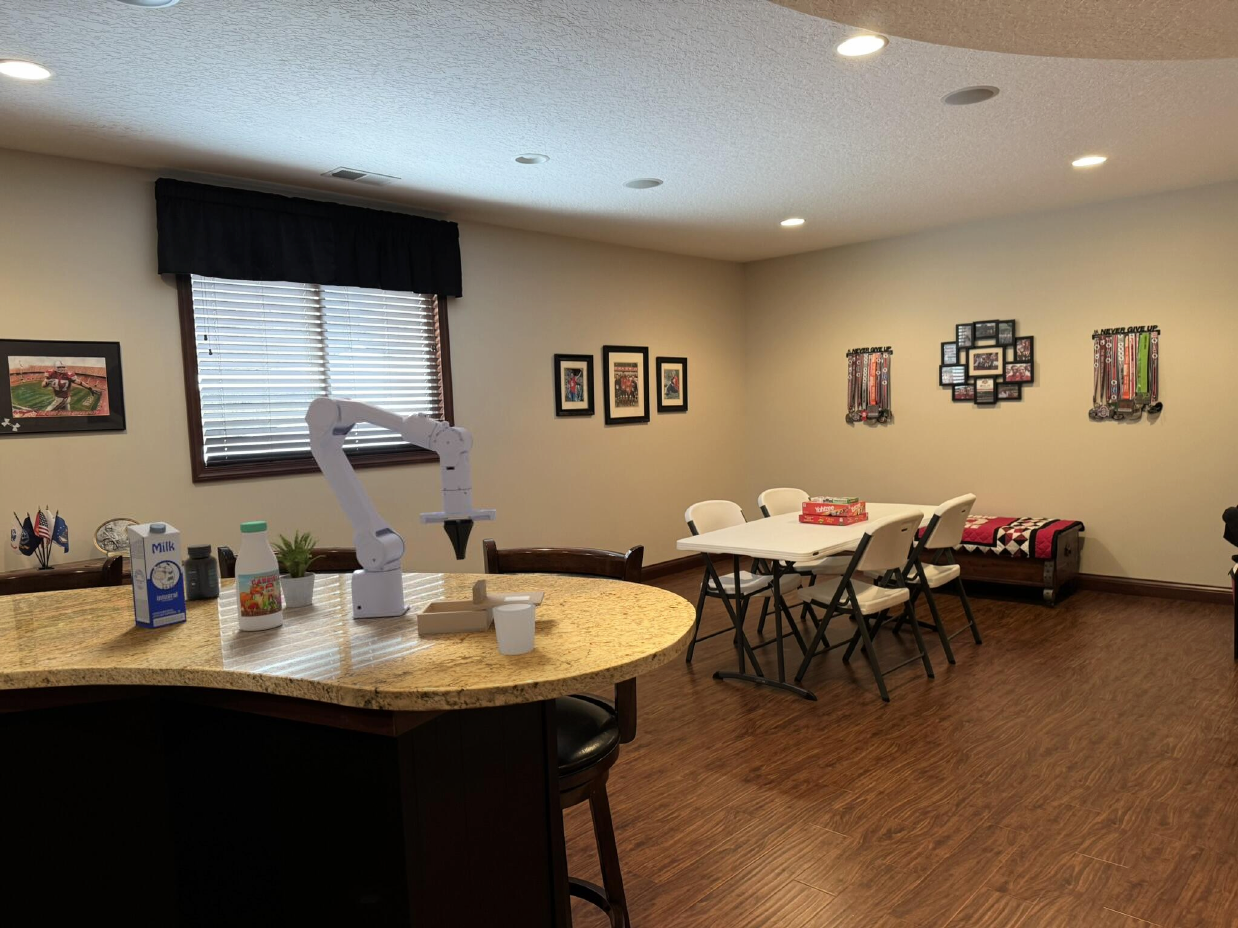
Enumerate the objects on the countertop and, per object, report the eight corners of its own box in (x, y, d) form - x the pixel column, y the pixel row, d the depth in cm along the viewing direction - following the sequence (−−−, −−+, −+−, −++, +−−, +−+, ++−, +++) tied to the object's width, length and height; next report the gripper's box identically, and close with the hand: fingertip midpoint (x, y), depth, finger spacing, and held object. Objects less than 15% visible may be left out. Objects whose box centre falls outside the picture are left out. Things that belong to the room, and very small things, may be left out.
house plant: (281, 597, 186) (276, 524, 185) (343, 594, 185) (338, 521, 184) (251, 612, 171) (245, 533, 170) (318, 609, 171) (312, 530, 170)
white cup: (501, 658, 129) (498, 613, 128) (490, 648, 135) (487, 605, 135) (543, 651, 132) (541, 607, 131) (530, 641, 138) (528, 599, 137)
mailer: (418, 634, 146) (416, 614, 146) (429, 620, 156) (428, 601, 156) (486, 630, 146) (485, 610, 146) (493, 617, 156) (492, 598, 156)
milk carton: (170, 617, 171) (162, 520, 169) (187, 620, 167) (179, 521, 166) (134, 625, 165) (126, 525, 164) (151, 629, 161) (142, 526, 160)
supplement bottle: (179, 601, 187) (175, 548, 187) (202, 594, 194) (198, 543, 193) (203, 601, 185) (199, 548, 185) (226, 594, 192) (222, 543, 191)
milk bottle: (229, 631, 156) (221, 525, 155) (260, 620, 163) (252, 519, 162) (262, 632, 153) (254, 525, 152) (292, 622, 160) (284, 519, 159)
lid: (472, 609, 146) (470, 589, 146) (480, 597, 156) (479, 578, 156) (540, 606, 146) (539, 585, 146) (544, 594, 156) (543, 575, 156)
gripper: (414, 493, 157) (419, 564, 157) (491, 489, 157) (495, 560, 158) (422, 489, 164) (426, 558, 164) (496, 485, 164) (500, 554, 165)
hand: (461, 558), depth 161 cm, fingers closed
